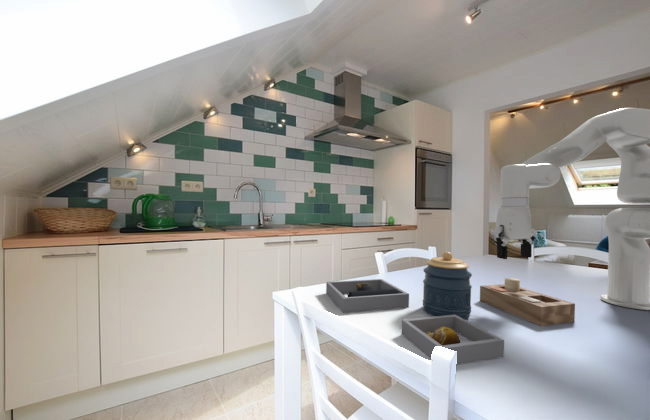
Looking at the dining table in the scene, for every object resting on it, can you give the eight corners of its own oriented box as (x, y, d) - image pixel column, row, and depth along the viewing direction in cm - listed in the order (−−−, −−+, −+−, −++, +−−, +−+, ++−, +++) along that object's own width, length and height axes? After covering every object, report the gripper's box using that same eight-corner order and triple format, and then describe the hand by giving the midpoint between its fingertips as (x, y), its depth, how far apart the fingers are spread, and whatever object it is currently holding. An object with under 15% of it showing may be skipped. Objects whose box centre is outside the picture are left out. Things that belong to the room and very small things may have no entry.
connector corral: (381, 289, 103) (381, 279, 103) (408, 307, 85) (409, 293, 85) (326, 293, 97) (326, 282, 97) (343, 312, 80) (343, 298, 80)
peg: (510, 302, 92) (511, 277, 92) (522, 306, 88) (523, 280, 88) (501, 302, 91) (501, 278, 91) (512, 307, 87) (513, 281, 87)
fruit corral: (454, 328, 71) (454, 314, 71) (503, 357, 57) (503, 340, 57) (401, 334, 67) (401, 319, 67) (440, 367, 53) (441, 348, 53)
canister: (476, 312, 82) (478, 252, 82) (462, 325, 73) (464, 257, 72) (432, 301, 91) (434, 247, 91) (414, 311, 82) (416, 251, 81)
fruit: (418, 334, 67) (418, 319, 67) (455, 338, 66) (455, 322, 66) (423, 352, 59) (423, 334, 59) (465, 356, 58) (466, 339, 58)
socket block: (508, 298, 96) (508, 282, 96) (574, 321, 76) (575, 302, 76) (479, 300, 92) (480, 284, 92) (541, 326, 73) (541, 305, 73)
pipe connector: (340, 282, 92) (382, 280, 97) (340, 298, 93) (381, 295, 97) (353, 294, 81) (399, 291, 86) (353, 312, 82) (399, 308, 86)
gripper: (524, 204, 95) (524, 254, 95) (482, 204, 91) (482, 256, 91) (547, 203, 88) (546, 258, 88) (503, 203, 83) (503, 261, 84)
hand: (514, 257), depth 89 cm, fingers open, 9 cm apart
